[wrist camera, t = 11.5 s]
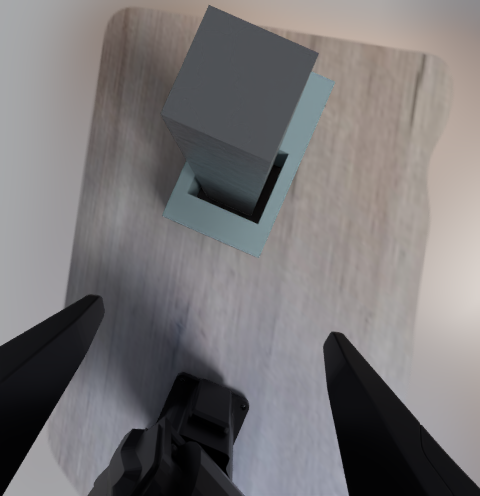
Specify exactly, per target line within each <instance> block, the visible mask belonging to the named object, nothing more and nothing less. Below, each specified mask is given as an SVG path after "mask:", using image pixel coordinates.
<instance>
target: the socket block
mask: <svg viewBox="0 0 480 496" xmlns="http://www.w3.org/2000/svg"><path fill="white" fill-rule="evenodd" d="M334 84H335V81H332V80H330V79H328V78H325V77H323V76H321V75H319V74H316V73H314V72H312V71H311V74H310V76H309V79H308V81H307V83H306V86H305V88H304V91H303V93H302V96H301V98H300V101H299V103H298V105H297V108H296V110H295V113H294V115H293V118H292V120H291V123H290V125H289V127H288V130H287V132H286V135H285V137H284V140H283V142H282V144H281V147H280V149H279V152H278V154H277V157H276V159H275V162H274V165H276V166H278V167H281V170H280V173H279V175H278V177H277V180H276V182H275V184H274V186H273V189H272V191H271V193H270V196H269V198H268V200H267V202H266V205H265V207H264V209H263V212H262V214H261V216H260V219H259V221H258V223H257V224H256V223H254V222H252V221H249V220H247V219H245V218H242V217H240V216H238V215H236V214H233V213H231V212H229V211H226V210H224V209H222V208H220V207H217V206H215V205H213V204H210V203H208V202H206V201H204V200H201V199H199V198H197V195H198V193H199V191H200V188H201V185H200V183H199V181H198V180H197V178H196V176H195V174H194V173H193V171H192V169H191V167H190V165H189V164H188V162H187V160H186V163H185V165H184V167H183V169H182V172H181V174H180V176H179V178H178V181H177V183H176V185H175V187H174V190H173V192H172V194H171V197H170V199H169V201H168V203H167V206H166V208H165V210H164V212H163V215H162V216H164V217H166V218H168V219H170V220H172V221H175V222H177V223H179V224H182V225H184V226H186V227H188V228H191V229H193V230H195V231H198V232H200V233H202V234H204V235H207V236H209V237H211V238H214V239H216V240H218V241H221V242H223V243H225V244H227V245H230V246H232V247H234V248H237V249H239V250H241V251H243V252H246V253H248V254H250V255H253V256H255V257H258V258H259V256H260V254H261V252H262V249H263V247H264V245H265V242H266V240H267V238H268V235H269V233H270V231H271V229H272V226H273V224H274V222H275V219H276V217H277V215H278V212H279V210H280V208H281V206H282V203H283V201H284V199H285V196H286V194H287V192H288V189H289V187H290V185H291V183H292V180H293V178H294V176H295V173H296V171H297V169H298V166H299V164H300V162H301V160H302V157H303V155H304V153H305V150H306V148H307V146H308V143H309V141H310V139H311V137H312V134H313V132H314V130H315V127H316V125H317V123H318V120H319V118H320V116H321V114H322V111H323V109H324V107H325V104H326V102H327V100H328V97H329V95H330V93H331V91H332V88H333V86H334Z"/></svg>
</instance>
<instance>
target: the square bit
mask: <svg viewBox="0 0 480 496" xmlns="http://www.w3.org/2000/svg"><path fill="white" fill-rule="evenodd" d="M318 54H319V53H317V52H315V51H313V50H310V49H308V48H306V47H304V46H301V45H299V44H297V43H294V42H292V41H290V40H288V39H285V38H283V37H281V36H278V35H276V34H274V33H272V32H269V31H267V30H265V29H263V28H260V27H258V26H256V25H253V24H251V23H249V22H247V21H244V20H242V19H240V18H237V17H235V16H233V15H231V14H228V13H226V12H224V11H221V10H219V9H217V8H215V7H212V6H210V5H209V6H208V8H207V11H206V13H205V15H204V17H203V20H202V22H201V24H200V26H199V29H198V31H197V33H196V35H195V37H194V40H193V42H192V44H191V46H190V49H189V51H188V53H187V55H186V58H185V60H184V62H183V64H182V67H181V69H180V71H179V73H178V76H177V78H176V80H175V82H174V85H173V87H172V89H171V91H170V94H169V96H168V98H167V100H166V103H165V105H164V107H163V109H162V112H161V116H162V118H163V119H164V121H165V123H166V125H167V127H168V128H169V130H170V132H171V134H172V135H173V137H174V139H175V141H176V142H177V144H178V146H179V148H180V150H181V151H182V153H183V155H184V157H185V158H186V160H187V162H188V164H189V165H190V167H191V169H192V171H193V173H194V174H195V176H196V178H197V180H198V181H199V183H200V185H201V187H202V188H203V190H204V192H205V194H206V196H207V197H208V198H210V199H212V200H214V201H217V202H219V203H221V204H224V205H226V206H228V207H231V208H233V209H235V210H237V211H240V212H242V213H244V214H247V215H249V216H251V215H252V213H253V210H254V208H255V206H256V204H257V201H258V199H259V197H260V194H261V192H262V190H263V187H264V185H265V183H266V181H267V178H268V176H269V174H270V171H271V169H272V166H273V164H274V162H275V159H276V157H277V154H278V152H279V149H280V147H281V144H282V142H283V140H284V137H285V135H286V132H287V130H288V127H289V125H290V123H291V120H292V118H293V115H294V113H295V110H296V108H297V105H298V103H299V101H300V98H301V96H302V93H303V91H304V88H305V86H306V83H307V81H308V79H309V76H310V74H311V71H312V69H313V66H314V64H315V62H316V59H317V57H318Z"/></svg>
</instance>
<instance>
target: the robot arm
mask: <svg viewBox="0 0 480 496" xmlns="http://www.w3.org/2000/svg"><path fill="white" fill-rule="evenodd" d="M104 313H105V310H104V305H103V300H102V297H101V296H99V295H93V294H90V295H87V296H85V297H84V298H82V299H80V300H79V301H77V302H75V303H73V304H72V305H70V306H68V307H67V308H65V309H63V310H61V311H60V312H58V313H56V314H55V315H53V316H51V317H49V318H48V319H46V320H44V321H43V322H41V323H39V324H38V325H36V326H34V327H33V328H31V329H29V330H27V331H26V332H24V333H22V334H20V335H19V336H17V337H15V338H13V339H12V340H10V341H9V342H7V343H5V344H3V345H2V346H0V496H3V494H4V492H5V491H6V489H7V487H8V485H9V483H10V482H11V480H12V479H13V477H14V475H15V474H16V472H17V470H18V469H19V467H20V465H21V464H22V462H23V460H24V458H25V457H26V455H27V453H28V452H29V450H30V448H31V447H32V445H33V443H34V442H35V440H36V438H37V436H38V435H39V433H40V431H41V430H42V428H43V426H44V425H45V423H46V421H47V420H48V418H49V416H50V415H51V413H52V411H53V409H54V408H55V406H56V404H57V403H58V401H59V399H60V398H61V396H62V394H63V393H64V391H65V389H66V387H67V386H68V384H69V382H70V381H71V379H72V377H73V376H74V374H75V372H76V371H77V369H78V367H79V366H80V364H81V362H82V360H83V359H84V357H85V355H86V353H87V351H88V349H89V347H90V345H91V343H92V340H93V338H94V336H95V334H96V332H97V330H98V327H99V325H100V323H101V321H102V319H103V316H104ZM323 352H324V362H325V372H326V382H327V390H328V395H329V400H330V405H331V410H332V415H333V420H334V425H335V429H336V434H337V439H338V444H339V449H340V454H341V459H342V464H343V469H344V474H345V478H346V483H347V488H348V493H349V496H480V488H479V487H478V486H477V485H476V484H475V483H474V482H473V481H472V480H471V479H470V478H469V477H468V476H467V474H466V473H465V472H464V471H463V470H462V469H461V468H460V467H459V466H458V465H457V464H456V463H455V462H454V461H453V460H452V459H451V458H450V456H449V455H448V454H447V453H446V452H445V451H444V450H443V449H442V448H441V446H440V445H439V444H438V443H437V442H436V441H435V440H434V438H433V437H432V436H431V435H430V434H429V433H428V432H427V430H426V429H425V428H424V427H423V426H422V425H420V423H419V421H418V420H417V419H416V418H415V417H414V415H413V414H412V413H411V412H410V411H409V410H408V408H407V407H406V406H405V405H404V404H403V403H402V402H401V400H400V399H399V398H398V397H397V396H396V395H395V393H394V392H393V391H392V390H391V389H390V388H389V386H388V385H387V384H386V383H385V382H384V381H383V379H382V378H381V377H380V376H379V375H378V374H377V373H376V371H375V370H374V369H373V368H372V367H371V366H370V364H369V363H368V362H367V361H366V360H365V359H364V357H363V356H362V355H361V354H360V353H359V352H358V350H357V349H356V348H355V347H354V346H353V345H352V344H351V342H350V341H349V340H348V339H347V338H346V337H345V335H344V334H342V333H340V332H331V333H330V334H329V336H328V338H327V339H326V341H325V343H324V346H323ZM180 378H184V380H185V381H181V380H180ZM242 404H244V405H246V406H245V407H241V405H242ZM248 410H249V402H248V400H246V399H245V398H242V397H240V396H238V395H236V394H233V393H231V391H230V390H229V389H226V388H224V387H222V386H219V385H217V384H215V383H213V382H210V381H208V380H206V379H199V378H196V377H194V376H192V375H190V374H187V373H185V372H181V373H179V374H178V375H177V377H176V380H175V382H174V384H173V386H172V389H171V391H170V393H169V396H168V398H167V400H166V402H165V405H164V407H163V409H162V412H161V414H160V416H159V418H158V421H157V423H156V424H155V425H154V426H153V427H151V428H150V429H149V430H148V429H147V428H146V429H132V430H131V431H130V432H129V433H127V434H126V435H125V436H124V438H123V440H122V441H121V443H120V445H119V446H118V448H117V449H116V451H115V453H114V455H113V457H112V459H111V461H110V464H109V466H108V467H107V468H106V469H105V470H104V471H103V472H102V473H101V474H100V475H99V476H98V478H97V479H96V481H95V482H94V487H93V489H92V490H91V491H90V493H89V494H88V496H244V494H243V493H242V492H241V491H240V490H239V489H238V488H237V487H236V485H235V484H234V483H233V482H232V471H233V445H234V443H235V440H236V438H237V436H238V433H239V431H240V429H241V426H242V424H243V422H244V419H245V417H246V415H247V412H248Z"/></svg>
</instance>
